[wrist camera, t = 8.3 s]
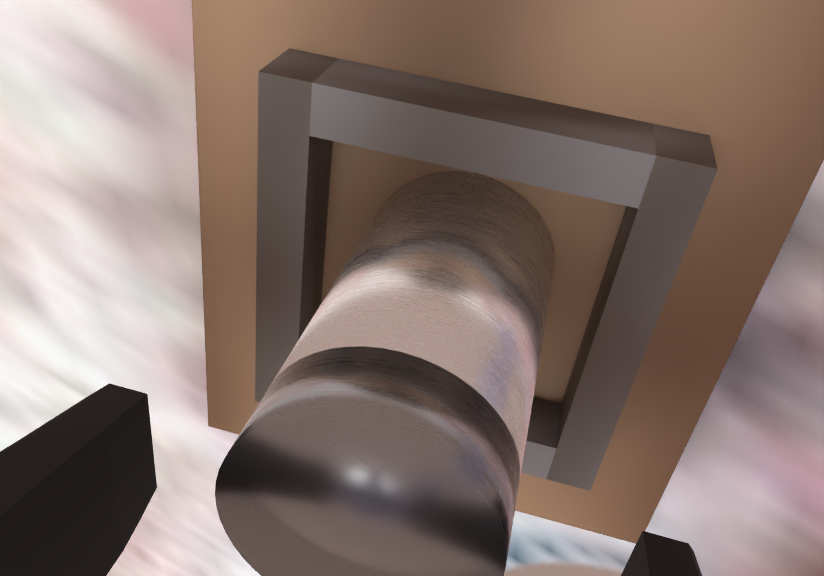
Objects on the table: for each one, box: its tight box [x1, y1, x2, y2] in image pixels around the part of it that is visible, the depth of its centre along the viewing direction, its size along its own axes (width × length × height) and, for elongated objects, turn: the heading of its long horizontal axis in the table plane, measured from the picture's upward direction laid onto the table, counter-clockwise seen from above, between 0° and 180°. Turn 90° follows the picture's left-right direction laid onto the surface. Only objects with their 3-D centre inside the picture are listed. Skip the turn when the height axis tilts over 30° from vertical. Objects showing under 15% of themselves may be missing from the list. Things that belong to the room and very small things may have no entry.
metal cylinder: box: [215, 171, 555, 576], centre depth 13 cm, size 4×4×8 cm
